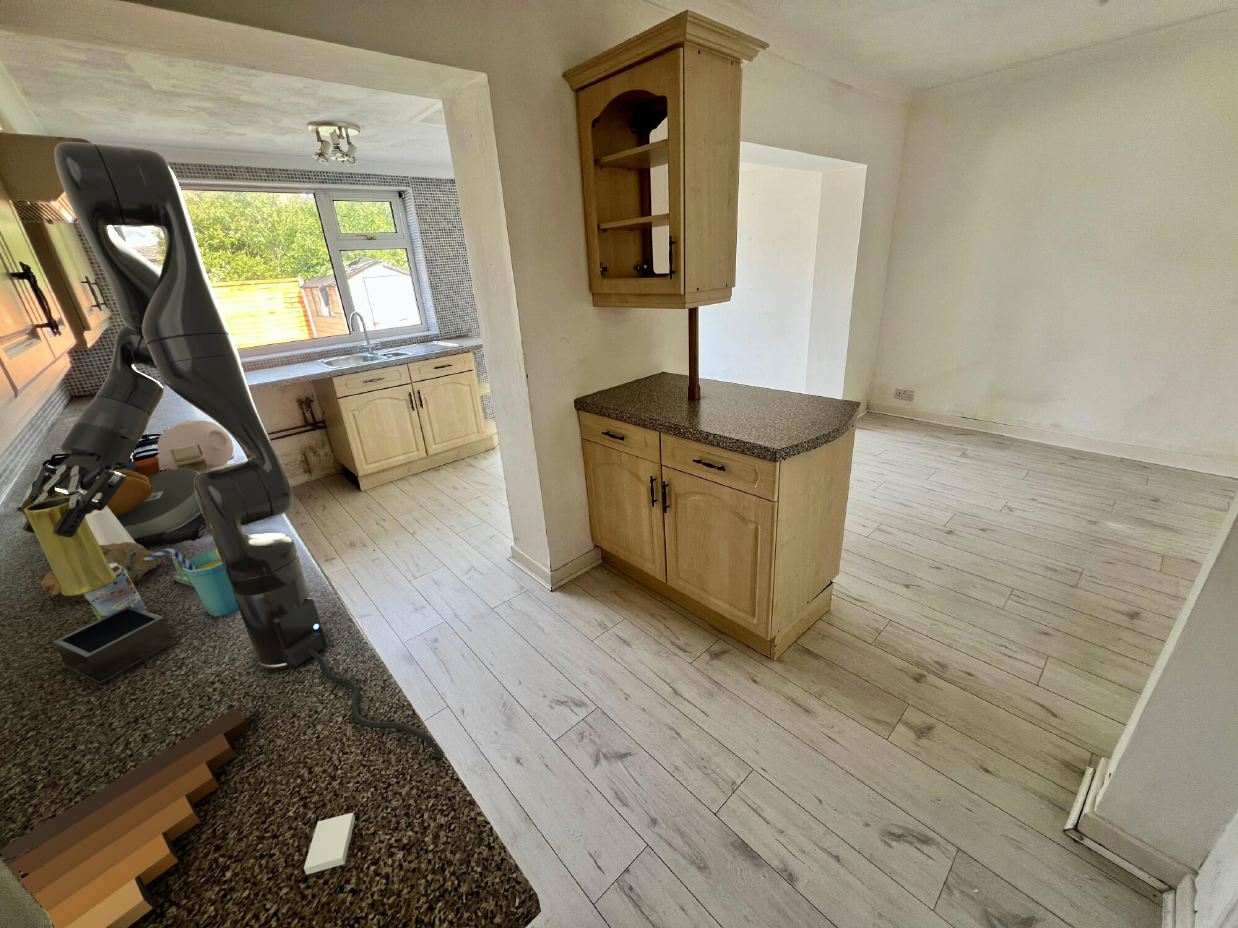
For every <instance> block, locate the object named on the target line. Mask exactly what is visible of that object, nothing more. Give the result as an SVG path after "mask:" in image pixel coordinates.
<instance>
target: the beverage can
mask: <svg viewBox="0 0 1238 928" xmlns="http://www.w3.org/2000/svg"><path fill="white" fill-rule="evenodd" d="M109 565H110V567H111V569H112V570H113V571H114V572H115V574H116V578H115V579H114V580H113V581H112V582H111V583H109V584H108V585H106V586H104V587H102V588H100V589H97V590H95V591H92V592H89V593H85V594H84V596H85V598H86V600H85V601H86V602H87V603H88V605H89V607H90V608H91V610H92V613H93V614H94V615H95V617H96V619H97V621H98V620H100V619H102V618H104V617H106V616H108V615H111V614H113V613H115V612H117V611H119V610H121V609H123V608H125V607H127V606H130V605H131V606H133V607H136V608H139V609H142V610H144V611H147V612H149V611H148V609H147V607H146V606H145V603H144V602H143V599H142V598H141V596H140V594H139V592H138V591H137V588H136V586H135V585H134V583H132V581H131V579H130V577H129V575H128V573H127V571H126V569H125V568H124V567H122V566H119V565H118V564H117V563H110V564H109Z"/></svg>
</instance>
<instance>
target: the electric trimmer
mask: <svg viewBox="0 0 1238 928" xmlns="http://www.w3.org/2000/svg"><path fill="white" fill-rule="evenodd" d="M205 530H206V526H205V525H203V526H202V525H199V526H198V527H195V528H188V529H183V530H177V531H176V530H175V531H172V532H170V533H165V532H161V533H157V534H153V535H148V536H144V537H140V538H135V539H133V540H134V541H135V542H136V543H137V544H140V545H142V546H143V547H144V548H148V547H154V546H162V545H168V544H175V543H180V542H187V541H191V542H195V541H197V540H200V539H201V538H202V537H203V535H204V534H205Z"/></svg>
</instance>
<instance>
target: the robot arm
mask: <svg viewBox="0 0 1238 928" xmlns="http://www.w3.org/2000/svg"><path fill="white" fill-rule="evenodd" d="M53 151H54V153H53V155H54V163H55V169H56V172H57V175H58V178H59V181H60V184H61V186H62V189H63V191H64V194H65V196H66V199H67V200H68V202H69V204H70V207H71V209H72V211H73V213H74V216H75V218H76V220H77V222H78V224H79V226H80V228H81V230H82V232H83V235H84V236H85V238H86V240H87V242H88V245H89V247H90V248H91V250H92V252H93V254H94V256H95V257H96V259H97V261H98V263H99V264H100V266H101V268H102V270H103V272H104V274H105V276H106V278H107V280H108V283H109V285H110V287H111V290H112V293H113V297H114V300H115V303H116V306H117V309H118V313H119V314H120V315H119V316H120V318H121V320H122V322H123V323H124V324H125V325H123V326H122V327H121V328H120V329H119V330H118V331H117V334H116V336H115V341H114V346H113V347H114V348H113V354H112V360H111V364H110V367H109V370H108V374H107V376H106V379H105V380H104V382H103V384H102V385H101V386H100V388H99V390H98V391H97V393H96V394H95V396H94V398H93V399H92V400H91V401H90V403H89V404H88V405H86V407H85V408H84V409H83V411H82V412H81V414H80V415H79V417H78V418H77V420H76V421H75V423H74V425H73V427H72V428H71V430H70V431H69V433H68V434H67V436H66V438H65V439H64V440H63V442H62V443H61V445H60V450H61V451H62V452H63V453H65V454H66V455H67V457H66V458H65V459H64V461H62V462H61V463H60V464H59V465H58V466H51V465H48V464H45V465H43V466H42V467H41V469H40V471H39V473H38V476H37V477H36V480H35V481H34V484H33V485H32V488H31V490H30V492H29V494H28V497H27V499H28V501H31V502H33V503H34V504H35V503H37V502H40V501H43V500H47V499H51V498H56V496H59V497H63V496H71V497H70V501H69V505H68V508H69V509H70V510H67V509H65V511H64V513H63V514H62V516H61V518H60V519H59V521H58V523H57V525H56V526H55V528H54V530H53V534H55V535H59V536H63V537H73V536H74V535H75V533H76V531H77V530H78V528H79V526H80V524H81V523H82V521H83V519H84V518H85V516H86V514H90V513H92V512H93V510H98V511H101V510H103V509H104V507H105V506H106V505H107V503H108V502H109V501H110V499H111V498H112V497H113V495H114V494H115V493H116V491H117V490H118V489H119V487H120V486H121V485H122V483H123V482H124V481H125V479H126V476H125V475H122V474H120V473H117V472H114V470H115V468H123V467H126V463H127V461H130V458H131V456H132V454H133V452H134V450H135V449H136V448H137V445H138V444H139V442H140V440H141V438H142V437H143V436H144V433H145V431H146V429H147V427H148V424H149V421H150V419H151V417H152V415H153V413H154V412H155V410H156V408H157V406H158V405H159V403H160V401H161V399H162V398H163V396H164V392H165V389H164V387H163V385H162V384H161V383H160V382H159V381H158V380H155V379H153V378H152V377H150V376H148V375H146V374H144V373H142V372H141V371H139V370H138V368H139V366H140V365H142V366H145V367H149V368H152V369H156V371H157V373H158V375H159V377H160V379H161V381H163V383H164V384H165V385H166V387H168V388H169V389H170V390H172V392H173V393H175V394H177V395H178V396H179V397H180V398H182V399H183V400H185V401H186V402H187V403H189V404H190V405H192V406H193V407H195V408H196V409H198V410H199V411H201V412H202V413H203V414H205V415H206V416H208V417H209V418H211V419H212V420H213V421H215V422H216V423H217V424H219V426H220V427H221V428H222V429H223V430H224V431H226V432H227V433H228V434H230V435H231V437H232V438H233V439H234V440H235V441H236V442H237V444H238V445H239V446H240V448H241V449H242V451H243V453H244V455H245V457H246V459H247V460H245V461H241V462H236V463H237V464H233V463H232V464H233V465H229V466H225V467H221V468H217V469H213V470H210V471H206V472H203V473H200V474H198V475H197V476H196V477H195V479H194V482H193V490H194V494H195V498H196V501H197V503H198V506H199V508H200V510H201V512H202V513H201V515H202V517H203V518H204V522H205V523H206V525H207V528H208V530H209V532H210V535H211V537H212V539H213V542H214V544H215V545H216V547H217V550H218V553H219V555H220V558H221V560H222V563H223V565H224V568H225V571H226V574H227V577H228V579H229V582H230V585H231V588H232V590H233V594H234V596H235V599H236V602H237V605H238V607H239V609H238V610H239V613H240V615H241V618H242V621H243V624H244V627H245V629H246V633H247V635H248V637H249V641H250V643H251V646H252V648H253V652H254V653H255V658H256V661H257V664H258V666H259V668H261V669H263V670H265V671H281V670H287V669H289V670H295V669H297V668H298V667H300V666H301V665H302V664H304V663H305V662H307V660H309V659H310V658H313V659H314V661H316V662H317V663H318V665H319V667H320V670H321V672H322V674H323V675H324V676H325V677H326V678H328V679H329V680H331V681H334V682H338V683H343V684H346V685H347V686H349V687H351V689H352V691H353V698H352V699H353V700H352V706H351V713H352V717H353V719H354V720H355V721H356V722H357V723H358V724H359V725H361V726H363V727H366V728H374V729H395V730H399V731H403V732H405V733H408V734H411V735H413V736H415V737H417V738H419V739H421V740H422V741H424V742H425V743H426V744H427V745H429V747H430V748H431V749H432V750H433V751H434V753H435V754H436V755H437V757H438V758H444V756H445V754H446V753H445V752H444V750H443V749H442V748H441V747H440V745H439V744H438V746H439V748H440V749H441V751H442V753H444V756H443V754H441V751H440V750H439V748H438V746H436V744H435V743H434V741H435V740H434V739H433V737H431V736H430V735H429V734H427V733H426V732H425V731H423V730H421V729H418V728H416V727H413V726H410V725H408V724H405V723H401V722H395V721H375V720H374V721H373V720H368V719H365V718H364V717H363V716H362V715H361V714H360V712H359V703H360V693H361V692H360V688H359V686H358V684H357V683H356V681H354V680H353V679H351V678H348V677H343V676H339V675H336V674H334V673H332V672H331V671H330V670H329V669H328V667H327V665H326V662H325V660H324V659H323V658H322V656H321V655H320V654H319V653H318V652H319V651H321V650H322V649H323V648H325V647H326V646H327V645H328V643H327V639H326V637H325V632H324V630H323V627H322V622H321V619H320V617H319V613H318V609H317V607H316V603H315V600H314V598H312V597H311V595H310V590H309V587H308V584H307V580H306V578H305V574H304V571H303V568H302V564H301V561H300V560H301V559H300V556H299V554H298V549H297V547H296V542H295V541H294V539H293V538H292V537H291V536H290V535H288V534H285V533H281V532H263V533H249V532H243V528H245V527H246V528H247V527H249V526H253V525H255V524H258V523H261V522H263V521H264V522H265V521H267V520H269V519H272V518H275V517H278V516H281V515H284V514H286V513H288V512H289V511H291V510H292V508H293V505H294V493H293V490H292V486H291V484H290V481H289V478H288V475H287V473H286V471H285V468H284V466H283V464H282V462H281V460H280V457H279V456H278V454H277V451H276V449H275V446H274V445H273V443H272V440H271V438H270V436H269V434H268V431H267V430H266V427H265V426H264V423H263V421H262V418H261V416H260V413H259V411H258V408H257V405H256V402H255V400H254V397H253V394H252V392H251V389H250V385H249V383H248V380H247V378H246V375H245V372H244V369H243V365H242V362H241V360H240V355H239V353H238V350H237V347H236V345H235V342H234V340H233V337H232V335H231V332H230V329H229V327H228V324H227V322H226V319H225V318H224V315H223V312H222V310H221V308H220V306H219V303H218V300H217V298H216V296H215V293H214V291H213V288H212V285H211V283H210V280H209V278H208V275H207V273H206V272H207V271H206V269H205V266H204V263H203V260H202V256H201V253H200V249H199V247H198V243H197V240H196V237H195V236H196V235H195V233H194V230H193V226H192V223H191V219H190V216H189V213H188V210H187V207H186V204H185V201H184V198H183V194H182V191H181V187H180V186H179V183H178V180H177V178H176V175H175V173H174V171H173V170H172V168H171V165H170V164H169V163H168V161H167V160H166V159H165V158H164V156H163V155H161V154H160V153H159V152H157V151H155V150H151V149H145V148H139V147H132V146H131V147H130V146H120V145H119V146H118V145H108V144H99V143H92V142H82V141H81V142H80V141H62V142H59V143H57V144H56V146H55V147H54V150H53ZM114 227H119V228H120V227H121V228H123V227H125V228H157V229H158V228H159V229H160V230H161V231H162V234H163V237H164V243H165V245H164V246H165V247H164V249H165V250H164V257H163V262H162V266H161V270H159V268H157V267H156V266H155V265H154V264H153V263H151V262H150V261H149V260H147V259H146V257H143V256H142V255H141V254H140V253H138V252H137V251H136V250H135V249H133V248H132V247H131V246H130V245H128V244H127V242H125V241H124V240H123V239H122V238H121V237H120V236H119V235H118V233H117V232H116V231H115V229H114ZM106 485H108V486H106ZM42 489H43V490H44V492H43V493H42V494H41V495H40V493H41V491H42ZM60 489H63V490H66V491H63V490H60ZM101 494H103V496H102V497H101ZM81 498H82V500H81V501H80V499H81ZM100 498H101V499H100ZM97 499H100V500H99V501H96V500H97ZM22 530H23V532H26V533H30V534H35V532H34V530H33V528H32V526H31V524H30V522H29V520H27V519H26V522H25V523H24V525H23V527H22ZM35 535H36V534H35ZM215 545H214V546H215ZM432 739H433V740H434V741H433V740H432Z"/></svg>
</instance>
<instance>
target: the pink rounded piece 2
mask: <svg viewBox="0 0 1238 928" xmlns="http://www.w3.org/2000/svg"><path fill="white" fill-rule="evenodd" d="M193 444H200V447H201V450H202V452H203V455H204V457H205V460H206V462H207V465H208V468H209V469H210V468H214V467H219V466H224V465H227V464H228V462H229V461H230V459H231V457H232V456H233V454H234V453H233V452H234V445H233V440H232V439H231V437H230V436H229V433H228V432H227V431H226V430H225V429H224V428H223V427H222V426H221V425H218V424H216V423H214V422H212V421H207V420H202V419H186V420H184V421H182V422H180V423H177V424H176V425H174V426H171V427H170V428H167V429H166V430H164V431H163V432H162V433H161V434H160V435H159V437H158V440H157V446H156V447H157V451H158V454H156V455H155V457H158V460H159V467H160V470H162V469H166V470H172V469H178V468H177V466H176V465H175V461H174V459H173V456H172V454H171V451H170V449H173V448H178V447H183V446H188V445H193Z"/></svg>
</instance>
